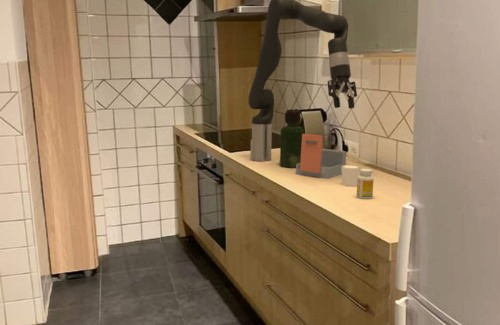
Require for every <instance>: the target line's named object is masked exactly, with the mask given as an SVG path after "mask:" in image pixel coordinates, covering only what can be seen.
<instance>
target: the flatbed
mask: <svg viewBox="0 0 500 325" xmlns="http://www.w3.org/2000/svg"><path fill="white" fill-rule="evenodd" d="M346 163H347V151H344V150H337V149H331V148H330V149H329V148H328V149H327V148H322V161H321V173H313V172H307V171H300V163H299V164H296V168H295V174H297V175H304V176H309V177H314V176H315V177H314V178H322V179H331V178H334V177H337V176H340V175H342V168H341V167H342V166H344V165H347V164H346Z"/></svg>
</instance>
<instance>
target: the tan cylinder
mask: <svg viewBox="0 0 500 325" xmlns="http://www.w3.org/2000/svg"><path fill="white" fill-rule="evenodd" d="M341 168H342V174H341V184H342V186H344V187H357V179H358V176H359V175H360V169H361V168H360V166H359V165H353V164H352V165H351V164H350V165H349V164H346V165H344V166H342V167H341Z"/></svg>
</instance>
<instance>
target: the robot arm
mask: <svg viewBox="0 0 500 325" xmlns="http://www.w3.org/2000/svg"><path fill="white" fill-rule="evenodd" d="M266 14H267V16H266V22H265V30H264V35H263V39H262V40H263V41H262V44H261V47H260V48H261V49H260V52H259V56H258V61H257V68H256V71H255V75H254V79H253V81H252V84H251V86H250V90H249V94H248V102H247V103H248V106H249V107H250V109H252V110H259V112H258V114H256V115H254V116H253V117H252V118H251V139H250V160H251V161H255V162H269V161H271V160H272V126H273V125H272V124H273V123H272V122H273V118H274V110H275V109H274V108H275V107H274V106H275V95H274V93H273V91H272V90H271V89H270V88H265V87H266V82H267V81H268V80H269V78H270V77H271V76H272V75H273V74H274V72H275V71H276V69H277V68H278V67H279V64H280V60H281V57H282V51H283V50H282V43H281V40H280V38H279V26H280V25H279V24H280V21H281V20H283V21H286V20H297V21H301V22H302V23H303V24H305V25H307V26H309V27H311V28H315V29H319V30H320V31H322V32H325V33H329V34H333V35H334V36H333V38H332V39H329V41H328V42H327V49H328V50H327V51H328V63H329V64H328V66H329V71H330V72H329V73H330V78H331V79H329V80H327V90H328V91H327V92H328V97H331V98H332V99H333V106H334V109H338V108H340V107H341V100H340V94H341V93H343V95H344V96H346V97H347V103H348V109H350V110H352V109H355V98H357V97H358V91H357V85H356V82H355V81H354V80H353V81H350V78H351V76H352V74H351V66H350V64H351V63H350V59H349V58H350V57H349V54H348V45H347V41H348V40H347V39H348V32H349V22H348V20H347V18H346V17H345V16H344V15H339V14H335V13H329V12H326V11H324V10H321V9H320V8H319V9H318V8H314V7H312V6H311V7H310V6H307V5H304V4H303V3H300V2H299V1H297V0H270V1H269V3H268V9H267V13H266Z"/></svg>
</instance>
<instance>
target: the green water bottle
mask: <svg viewBox="0 0 500 325" xmlns="http://www.w3.org/2000/svg"><path fill="white" fill-rule="evenodd" d="M301 118H302V117H301V112H300V110H299V109H287V110H286V111H285V113H284V120H285V124H286V126H285V125H284V126H283V127H281V129H280V141H279V142H280V145H279V147H280V148H279V152H280V153H279V154H280V155H279V165H280V166H281V167H284V168H287V169H288V168H289V169H296V164H299V163H300V162H301V146H302V134H305V129H304V128H303V127H302V126H299V124H300V123H301Z"/></svg>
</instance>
